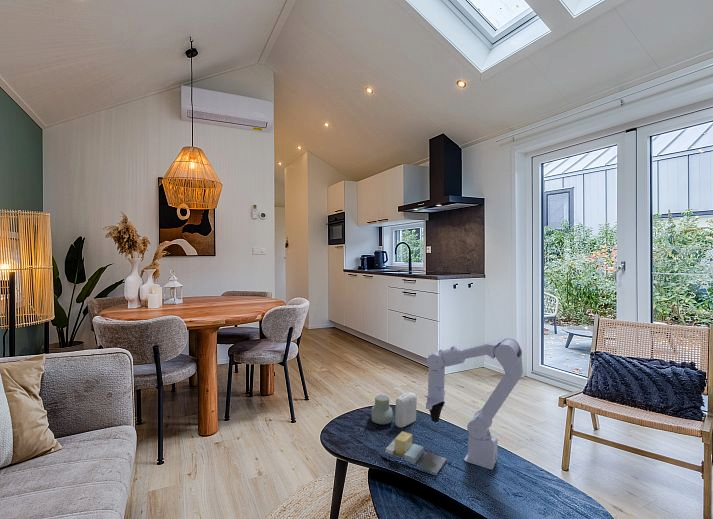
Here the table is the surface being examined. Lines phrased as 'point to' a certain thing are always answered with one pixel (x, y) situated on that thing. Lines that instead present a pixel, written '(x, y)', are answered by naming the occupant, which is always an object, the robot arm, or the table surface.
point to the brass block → (402, 443)
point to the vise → (423, 459)
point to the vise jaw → (413, 453)
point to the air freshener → (382, 410)
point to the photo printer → (405, 409)
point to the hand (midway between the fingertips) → (435, 421)
